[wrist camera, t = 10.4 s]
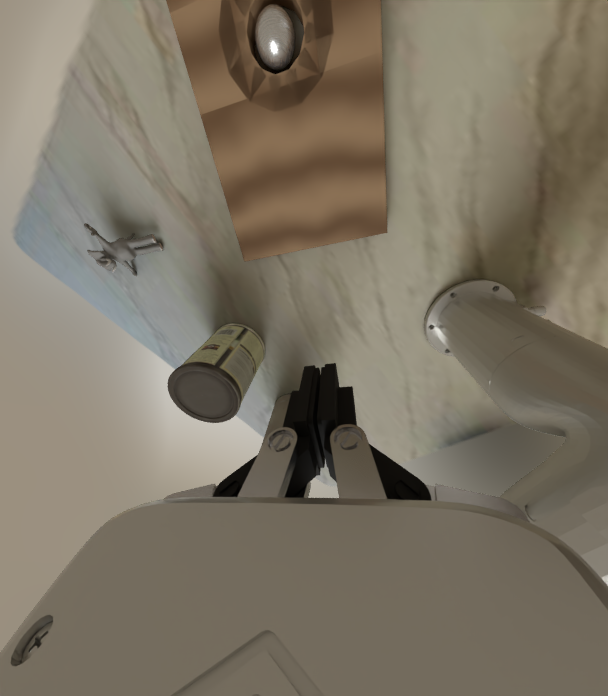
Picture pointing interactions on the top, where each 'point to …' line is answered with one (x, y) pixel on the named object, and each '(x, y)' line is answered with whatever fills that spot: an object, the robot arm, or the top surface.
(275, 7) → the ball
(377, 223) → the deck
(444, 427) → the top surface
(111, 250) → the grey toy figure
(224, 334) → the coffee can
